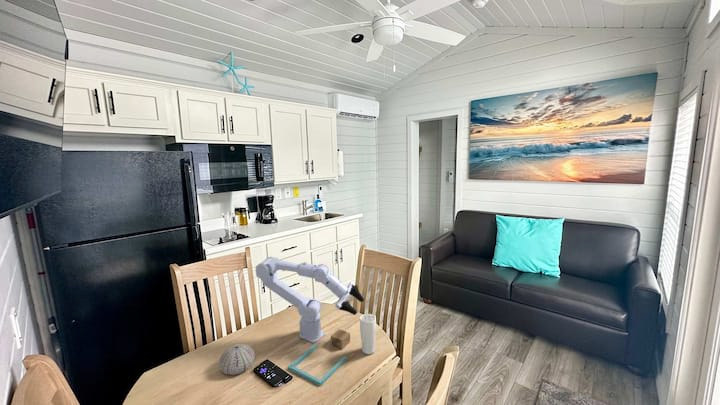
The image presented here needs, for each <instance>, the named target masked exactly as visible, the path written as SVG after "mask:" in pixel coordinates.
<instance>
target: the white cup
mask: <svg viewBox="0 0 720 405" xmlns="http://www.w3.org/2000/svg"><path fill="white" fill-rule="evenodd" d="M359 331H360V340H361V351H362V353H363V354H366V355H372V354H374V352H375V351H376V335H377V333H376V332H377V317H376V315H374V314H372V313H364V314H362V315H361V316H359Z"/></svg>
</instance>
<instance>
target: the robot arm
mask: <svg viewBox="0 0 720 405" xmlns="http://www.w3.org/2000/svg"><path fill="white" fill-rule="evenodd" d="M277 271H287V272H293V273H297V275H298V276H300V277H305V278H310V279H314V281H315V282H317V283H321V284H323V285H324V286H325V287H326V288H327V289H328V290H329V291H330V292H331V293H333V294H334V295H335V296H336V297H337V298H338V300H337V302H336V304H335V305H334V306H335V308H336V309H337V310H340V311H344V312H348V313H350V314H351V315H353V316H355V315H357V314H358V311H357V310H356V309H355V308H354V307H353V306H352V305H351V303H350V302H349V301H348V300H346V299H347V298H348V296H349V295H350V296H352V297H354V298H355V299H356V300H357V301H359V302H360V303H363V302H365V298H364V297H363V295H362V294H361V292H360V290H359V288H358V285H357V284H355V283H354V281H351V282H349V284H348V286H346V284H344V283H343V282H342V281H341V280H339V279H338V278H337V277H336V276H335V275H334V274H333V273H332V272H331V271H330V269H329V267H328V266H327V265H326V264H324V263H319V264H316V263H315V264H311V263H308V261H303V262H300V263H299V264H298V263H294V262H291V261H287V260H283V259H279V258H278V257H272V256H268V257H266V258H265V259H263V261H262V262H260V263H258V264H257V265H256V267H255V275H256V277H257V278H259V279H260V280H261V282H262V283H263V285H264V286H265V287H266V288H267V289H268V290H269V291H270V290H271V291H272V292H274V293H275V294H276V295H277V296H279V297H280V298H282V299H284V300H285V301H286V302H288V303H289V304H291V305H292V306H294V307H295V308H297V312H298V314H299V316H300V319H299V335H298V337H299V338H301V339H303V340H305V341H308V342H311V343H314V344H315V343H316V342H318V341H319V340H320V339H321V338H323V336H325V335H326V332H323V331H322V321H321V314H320V312H321V310H322V303H321V302H320V301H319V300H318V299H314V298H311V297H309V296H307V297H306V296H303V295H302V294H301V293H299V292H298V291H297V290H294V289H293V288H292V287H291V286H289V285H288V284H286V283H285V282H283V281H282V280H280V279H279V278H278V277H277ZM345 300H346V301H345Z"/></svg>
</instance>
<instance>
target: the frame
mask: <svg viewBox="0 0 720 405" xmlns="http://www.w3.org/2000/svg"><path fill="white" fill-rule="evenodd" d="M317 349H318V344H315V343H314V344H313V345H312V346H311V347H310V348H309V349H307V350H306V351H305V352H303V354H301V355H300V356H299V357H298V358H296V359H295V360H294V361H293V362H292V363H290V364H289V365H288V366H287V369H288V370H289V371H291V372H293V373H295V374H296V375H299V376H300V377H302V378H304V379H306V380H308V381H310V382H312V383H314V384H316V385H318V386H320V387H321V386H322V385H324V383H326V382H327V381H328V380H329V378H331V376H332V375H333V374H334V373H335V372H336V371H337V370H338V369H339V368H341V366H342V365H343V364H344V363H345V362H346V361H347V356H343V357H341V359H339V361H338V362H336V364H334V366H332V368H331V369H329V370H328V372H326V373H325V374H324V376H323V377H321V378H319V377H317V376H315V375H312V374H310V373H308V372H306V371H304V370H302V369H300V368H299V367H296V366H297V365H299V364H300V363H301V362H302V361H304V359H306V358H307V357H309V355H310V354H312V353H313V352H314V351H315V350H317Z"/></svg>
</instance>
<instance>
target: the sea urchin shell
mask: <svg viewBox="0 0 720 405" xmlns="http://www.w3.org/2000/svg"><path fill="white" fill-rule="evenodd" d="M255 359H256V351H255V350H254V348H253V347H251V345H249V344H242V343H236V344H233V345H232V346H230V347H228V348H227V349H226V350H225V351H224V352H223V353H222V355H221V356H220V357H219V364H218V365H219V369H220V371H221V373H223V374H225V375H229V376H230V375H231V376H236V375H238V374H242V373H243V372H246V371H248V369H249V368H251V367H252V365H253V364H254V362H255Z"/></svg>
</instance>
